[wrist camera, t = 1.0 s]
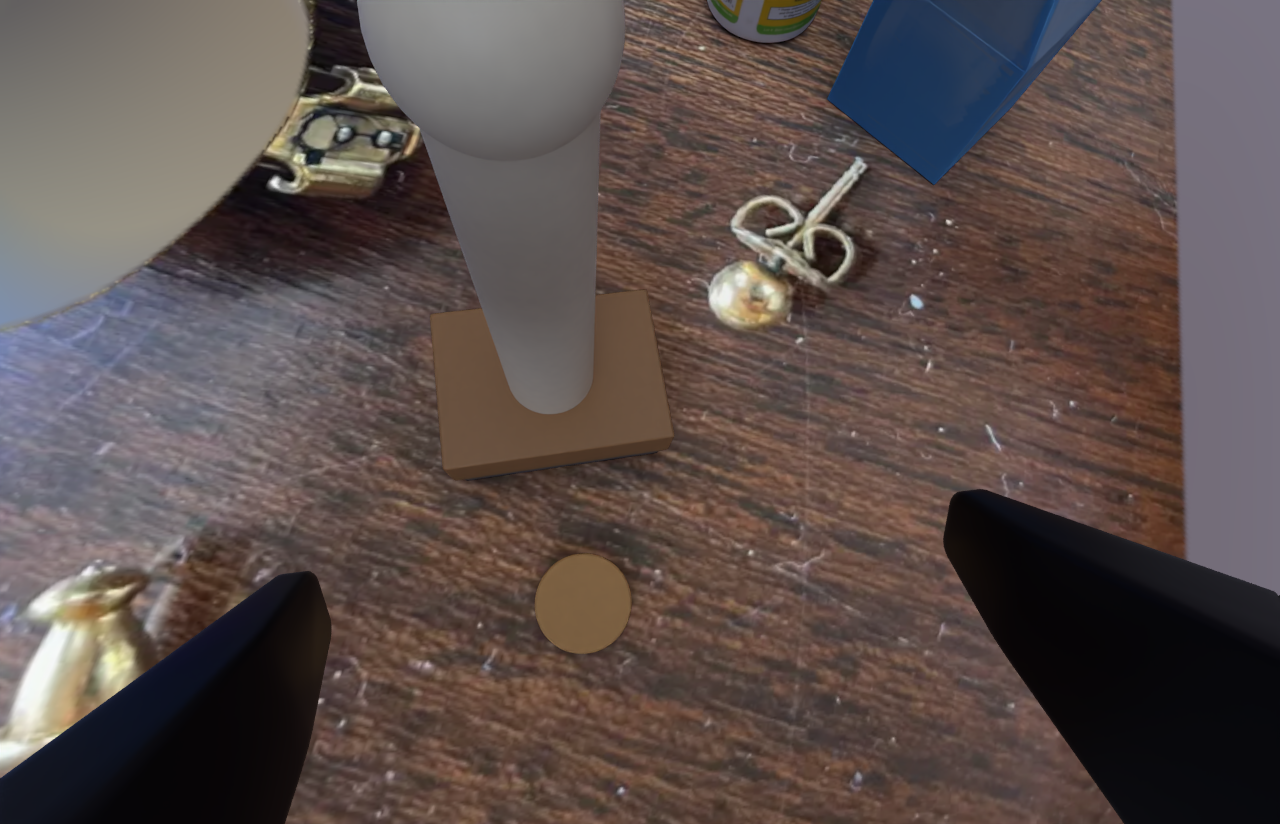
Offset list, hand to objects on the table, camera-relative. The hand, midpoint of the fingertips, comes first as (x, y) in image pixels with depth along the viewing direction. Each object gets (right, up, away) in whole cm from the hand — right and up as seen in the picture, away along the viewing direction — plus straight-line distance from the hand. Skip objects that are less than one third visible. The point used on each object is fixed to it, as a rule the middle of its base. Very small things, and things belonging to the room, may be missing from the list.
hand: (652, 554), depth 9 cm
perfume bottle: (+13, +16, +21) cm, 29 cm away
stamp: (-3, +2, +15) cm, 16 cm away
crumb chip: (-2, -5, +13) cm, 14 cm away
